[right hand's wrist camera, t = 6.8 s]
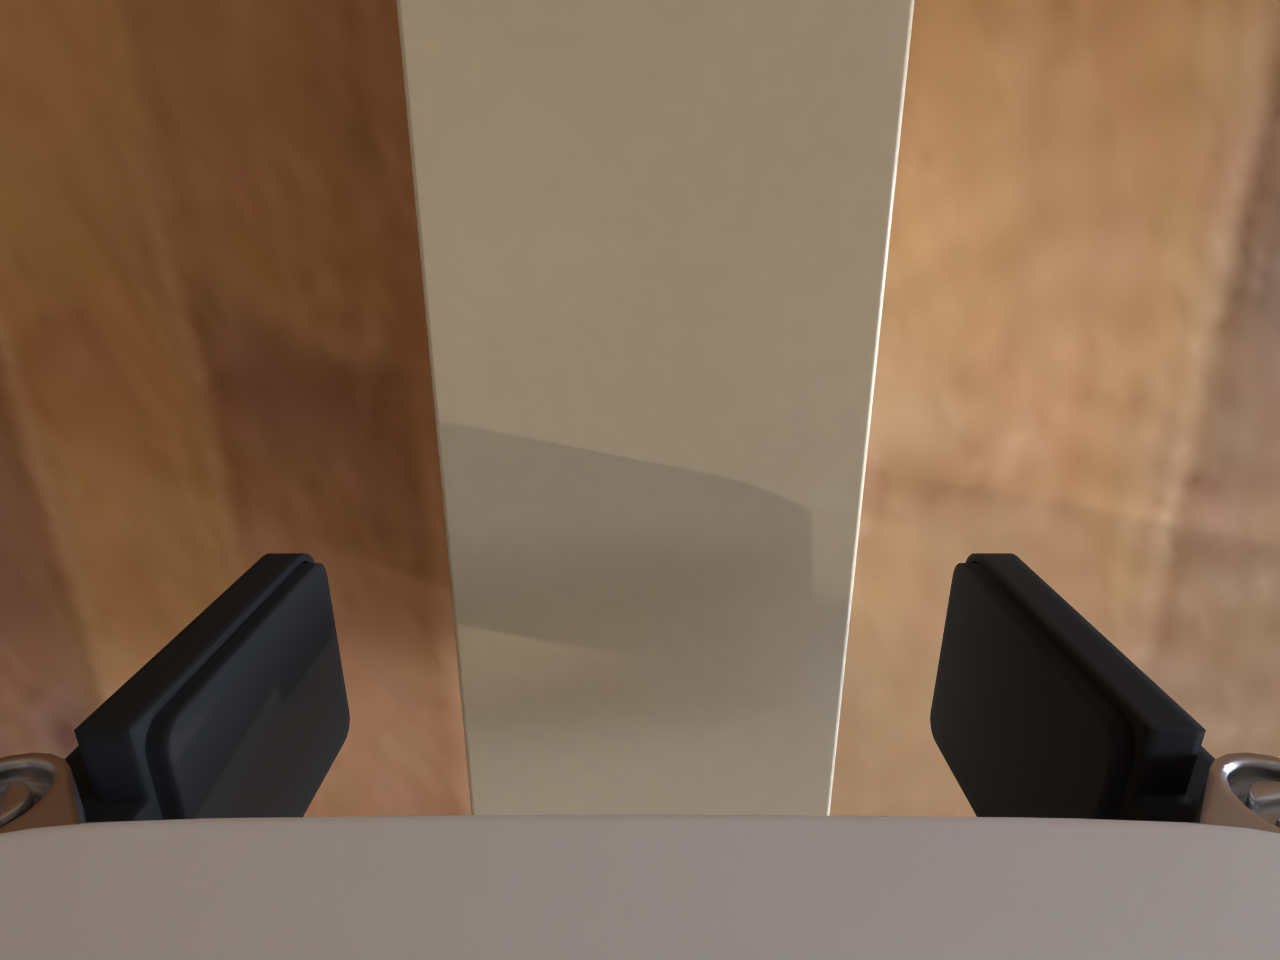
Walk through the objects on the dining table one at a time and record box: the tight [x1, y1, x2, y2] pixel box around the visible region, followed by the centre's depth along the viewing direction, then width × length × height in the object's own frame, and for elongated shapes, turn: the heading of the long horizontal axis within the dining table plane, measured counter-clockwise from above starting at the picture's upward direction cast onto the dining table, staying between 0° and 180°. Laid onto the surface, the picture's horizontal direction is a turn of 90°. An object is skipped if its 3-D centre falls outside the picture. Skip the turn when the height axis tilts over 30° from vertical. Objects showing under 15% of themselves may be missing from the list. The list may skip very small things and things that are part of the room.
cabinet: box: [396, 0, 914, 816], centre depth 13 cm, size 21×6×8 cm, turn 0°
